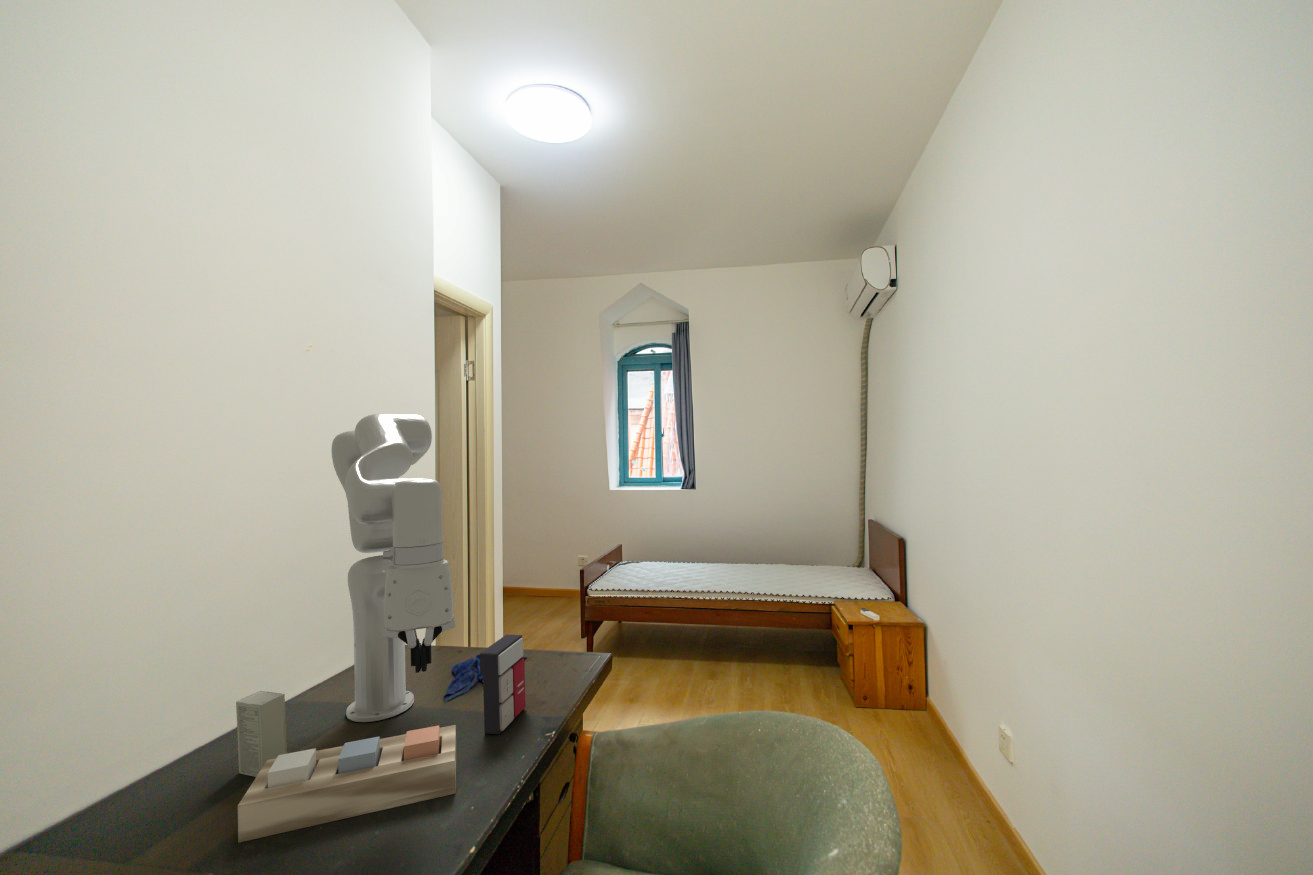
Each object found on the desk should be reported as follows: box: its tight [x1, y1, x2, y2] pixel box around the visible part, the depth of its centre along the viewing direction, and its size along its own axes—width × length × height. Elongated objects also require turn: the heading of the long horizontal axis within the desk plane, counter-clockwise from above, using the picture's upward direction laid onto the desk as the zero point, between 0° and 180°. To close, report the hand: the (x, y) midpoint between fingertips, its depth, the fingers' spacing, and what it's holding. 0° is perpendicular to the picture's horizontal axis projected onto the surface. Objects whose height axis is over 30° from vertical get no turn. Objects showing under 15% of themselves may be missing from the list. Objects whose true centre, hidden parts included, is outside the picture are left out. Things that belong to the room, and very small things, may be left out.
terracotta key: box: [404, 725, 441, 761], centre depth 88 cm, size 5×5×3 cm
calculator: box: [479, 634, 526, 735], centre depth 107 cm, size 11×4×15 cm, turn 168°
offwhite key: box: [268, 747, 317, 788], centre depth 82 cm, size 5×5×3 cm
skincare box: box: [235, 690, 288, 778], centre depth 93 cm, size 6×4×12 cm
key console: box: [237, 724, 457, 844], centre depth 85 cm, size 12×28×5 cm, turn 110°
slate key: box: [338, 736, 381, 774], centre depth 85 cm, size 5×5×3 cm
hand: (421, 668), depth 88 cm, fingers closed
